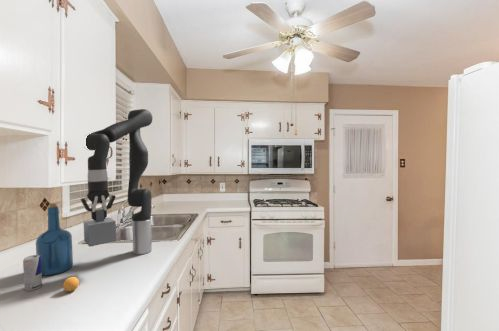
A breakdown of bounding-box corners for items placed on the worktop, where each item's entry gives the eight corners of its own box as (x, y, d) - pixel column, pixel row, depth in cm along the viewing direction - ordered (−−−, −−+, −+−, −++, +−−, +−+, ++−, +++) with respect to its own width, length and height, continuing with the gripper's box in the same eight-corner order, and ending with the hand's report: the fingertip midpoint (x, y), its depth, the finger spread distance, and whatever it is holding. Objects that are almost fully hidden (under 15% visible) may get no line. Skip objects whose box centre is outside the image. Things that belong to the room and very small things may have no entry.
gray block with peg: (84, 241, 117) (83, 209, 116) (109, 236, 124) (108, 206, 123) (89, 246, 109) (88, 213, 109) (116, 241, 116) (115, 209, 116)
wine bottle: (44, 266, 124) (41, 202, 123) (77, 262, 128) (74, 200, 127) (30, 279, 111) (27, 207, 110) (67, 274, 115) (64, 205, 114)
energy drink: (45, 284, 106) (44, 254, 106) (35, 291, 101) (33, 259, 100) (31, 284, 106) (30, 254, 106) (20, 291, 101) (19, 260, 100)
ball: (62, 290, 101) (61, 277, 101) (77, 286, 104) (77, 273, 104) (64, 295, 97) (63, 282, 97) (80, 290, 100) (79, 277, 100)
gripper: (112, 178, 123) (114, 215, 124) (77, 180, 114) (78, 220, 114) (117, 179, 118) (119, 218, 118) (80, 181, 108) (82, 224, 109)
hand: (99, 219), depth 116 cm, fingers closed on gray block with peg, 3 cm apart
